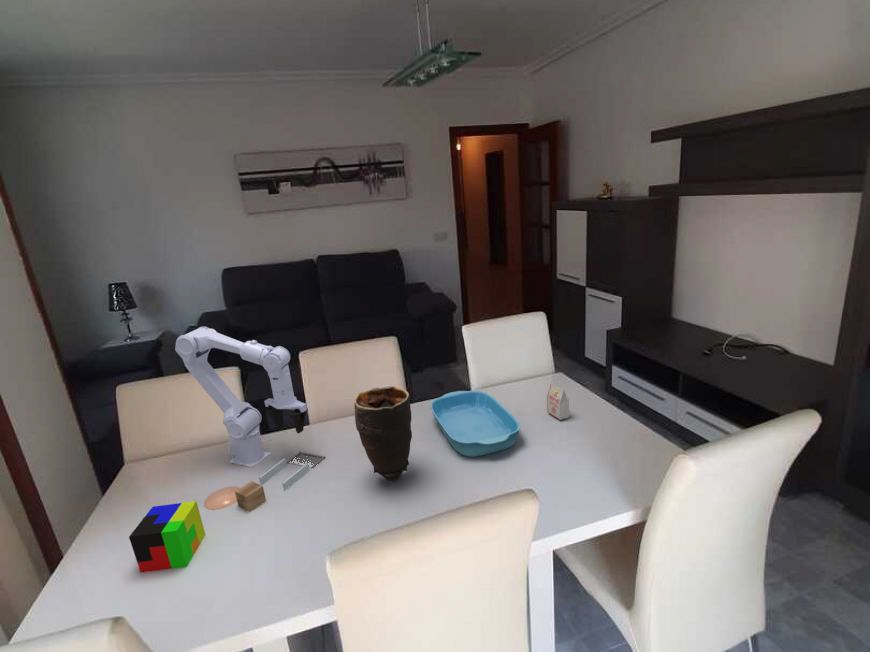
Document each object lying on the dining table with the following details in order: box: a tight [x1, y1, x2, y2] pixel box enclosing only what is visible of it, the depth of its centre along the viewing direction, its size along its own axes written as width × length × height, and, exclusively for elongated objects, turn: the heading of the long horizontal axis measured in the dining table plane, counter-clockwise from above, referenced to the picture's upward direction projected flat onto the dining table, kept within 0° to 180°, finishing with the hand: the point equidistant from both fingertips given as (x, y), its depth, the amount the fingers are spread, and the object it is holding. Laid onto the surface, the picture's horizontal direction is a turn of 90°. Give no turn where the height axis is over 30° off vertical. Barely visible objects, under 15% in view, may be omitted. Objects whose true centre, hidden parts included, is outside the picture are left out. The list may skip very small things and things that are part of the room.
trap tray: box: [286, 451, 326, 469], centre depth 139 cm, size 10×6×1 cm, turn 65°
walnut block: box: [235, 480, 267, 513], centre depth 120 cm, size 5×5×5 cm
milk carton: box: [546, 383, 570, 421], centre depth 152 cm, size 4×7×10 cm, turn 23°
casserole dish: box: [429, 390, 521, 458], centre depth 146 cm, size 37×22×7 cm, turn 17°
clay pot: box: [353, 384, 413, 482], centre depth 123 cm, size 15×15×25 cm
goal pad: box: [203, 486, 241, 511], centre depth 124 cm, size 10×10×1 cm
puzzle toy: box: [128, 500, 206, 573], centre depth 104 cm, size 10×10×10 cm
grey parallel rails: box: [258, 458, 310, 491], centre depth 131 cm, size 9×10×2 cm
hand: (290, 430), depth 138 cm, fingers open, 7 cm apart
